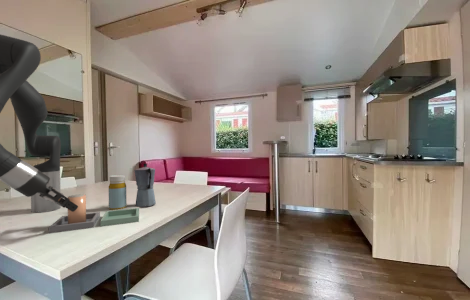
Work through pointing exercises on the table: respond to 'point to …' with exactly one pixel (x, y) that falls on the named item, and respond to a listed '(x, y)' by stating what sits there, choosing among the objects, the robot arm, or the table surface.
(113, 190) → the bottle
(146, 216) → the table surface
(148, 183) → the moka pot
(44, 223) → the table surface
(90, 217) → the tray
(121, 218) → the tray
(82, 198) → the orange cylinder
